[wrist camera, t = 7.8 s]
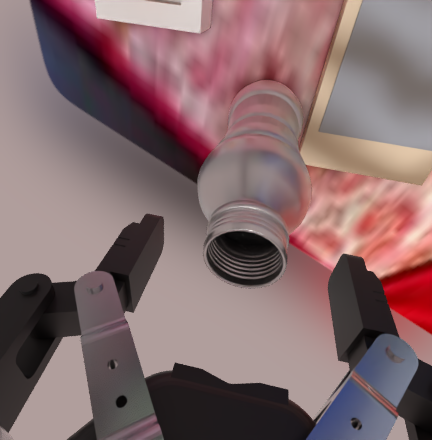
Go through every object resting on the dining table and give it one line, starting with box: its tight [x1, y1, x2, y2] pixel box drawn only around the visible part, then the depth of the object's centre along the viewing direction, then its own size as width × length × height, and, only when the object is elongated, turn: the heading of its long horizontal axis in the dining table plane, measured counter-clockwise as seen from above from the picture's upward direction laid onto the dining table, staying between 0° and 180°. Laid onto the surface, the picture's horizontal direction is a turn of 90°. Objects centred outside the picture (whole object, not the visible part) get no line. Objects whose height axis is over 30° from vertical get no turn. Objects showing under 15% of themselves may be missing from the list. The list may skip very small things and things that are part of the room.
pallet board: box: [299, 0, 432, 185], centre depth 24 cm, size 18×12×2 cm, turn 174°
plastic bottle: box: [198, 80, 312, 289], centre depth 20 cm, size 6×7×20 cm
